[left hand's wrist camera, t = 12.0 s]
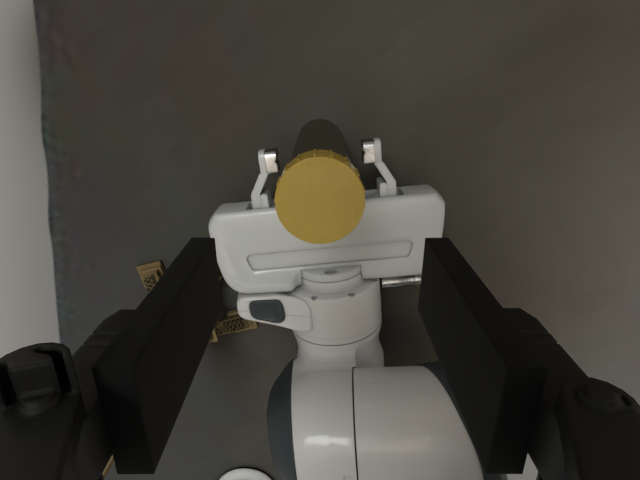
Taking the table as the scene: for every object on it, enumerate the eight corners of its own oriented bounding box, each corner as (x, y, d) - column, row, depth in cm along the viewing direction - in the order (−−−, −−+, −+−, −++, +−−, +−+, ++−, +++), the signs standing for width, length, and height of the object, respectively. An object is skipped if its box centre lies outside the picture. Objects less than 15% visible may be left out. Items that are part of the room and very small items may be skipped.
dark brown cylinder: (291, 156, 42) (268, 223, 23) (306, 112, 40) (294, 146, 22) (333, 171, 42) (343, 248, 24) (349, 128, 41) (373, 175, 22)
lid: (266, 215, 25) (261, 228, 23) (292, 135, 23) (290, 141, 21) (343, 241, 25) (346, 256, 23) (375, 165, 24) (380, 174, 22)
